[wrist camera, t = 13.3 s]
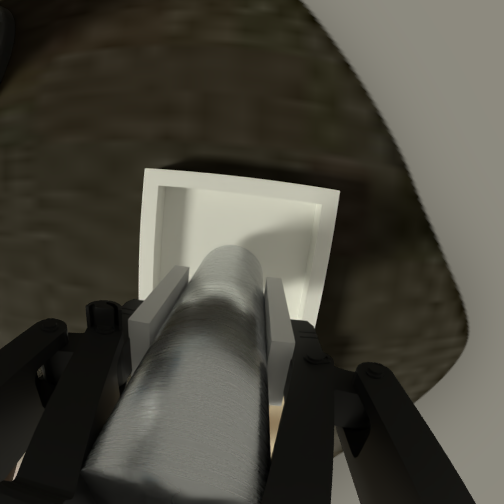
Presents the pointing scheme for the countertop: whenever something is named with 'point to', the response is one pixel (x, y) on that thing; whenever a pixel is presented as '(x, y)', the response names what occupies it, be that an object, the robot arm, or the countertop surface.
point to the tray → (238, 229)
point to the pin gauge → (194, 399)
